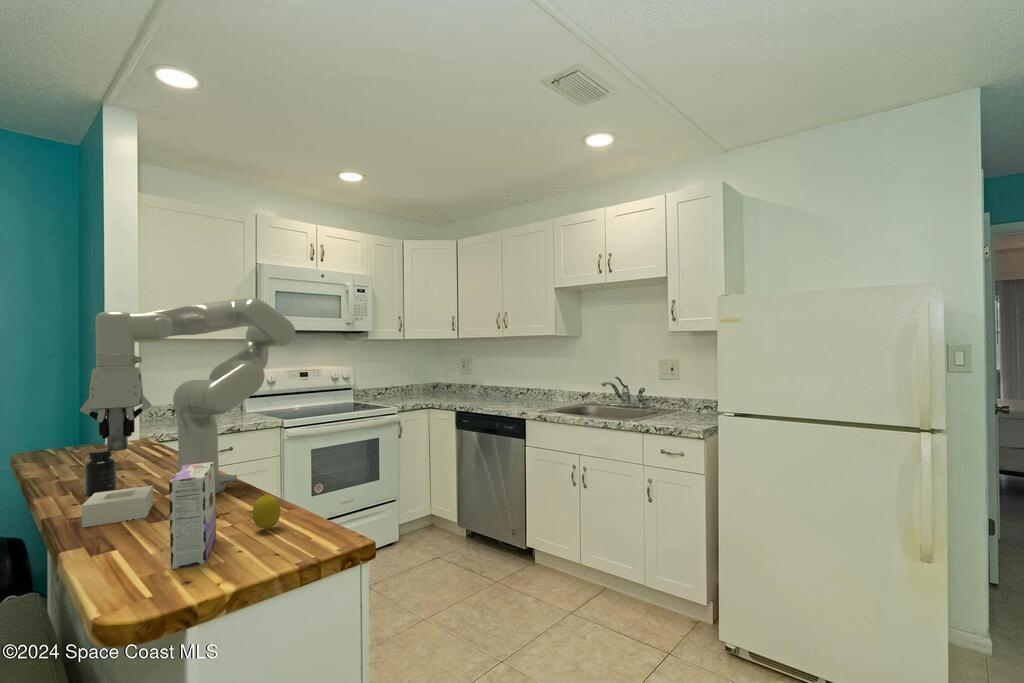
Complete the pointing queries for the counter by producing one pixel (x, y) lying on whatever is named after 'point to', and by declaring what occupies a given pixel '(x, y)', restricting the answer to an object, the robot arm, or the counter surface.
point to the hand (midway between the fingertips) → (117, 436)
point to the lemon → (266, 512)
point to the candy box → (192, 515)
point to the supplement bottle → (100, 472)
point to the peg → (116, 429)
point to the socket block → (117, 506)
